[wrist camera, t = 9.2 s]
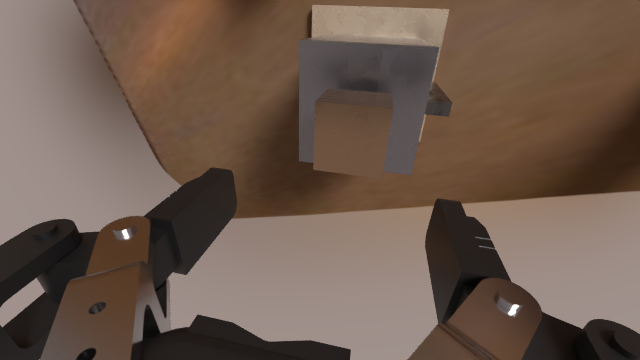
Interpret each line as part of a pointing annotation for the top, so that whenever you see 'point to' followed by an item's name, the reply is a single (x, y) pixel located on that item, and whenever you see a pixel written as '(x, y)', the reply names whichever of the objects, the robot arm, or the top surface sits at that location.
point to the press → (375, 70)
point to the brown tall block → (352, 132)
